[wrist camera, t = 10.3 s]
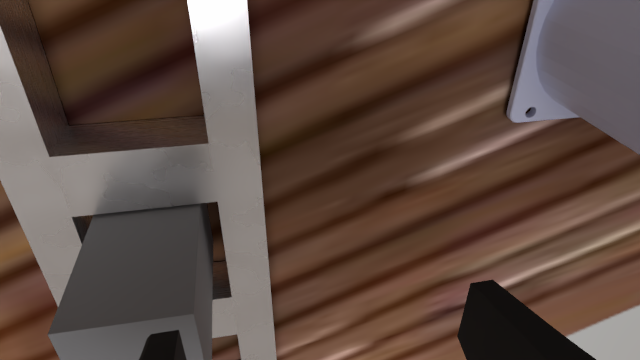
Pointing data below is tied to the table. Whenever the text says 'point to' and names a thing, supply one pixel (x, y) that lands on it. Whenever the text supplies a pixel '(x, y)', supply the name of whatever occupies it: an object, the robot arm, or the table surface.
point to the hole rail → (143, 163)
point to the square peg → (139, 285)
